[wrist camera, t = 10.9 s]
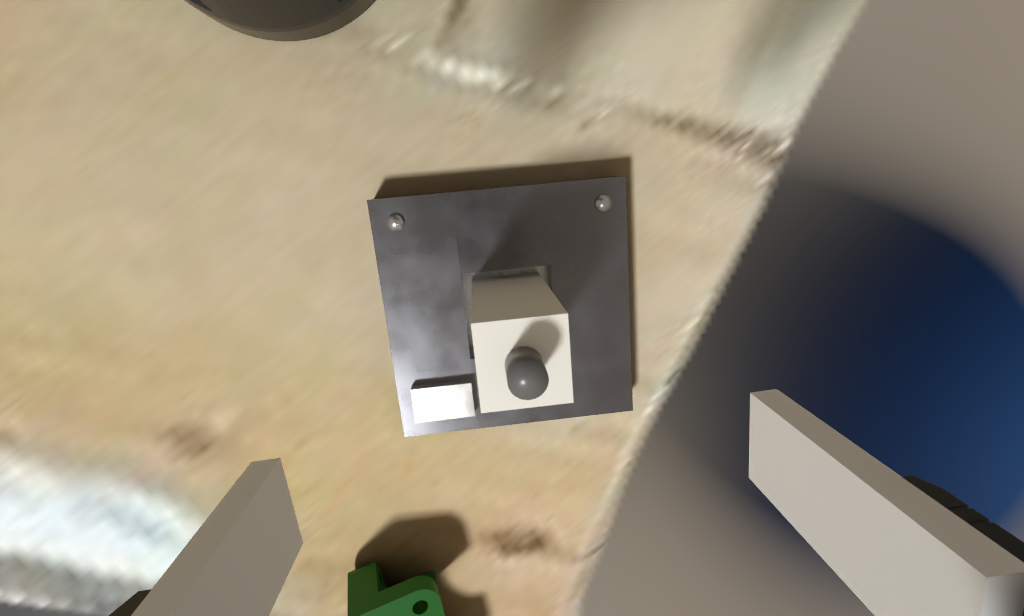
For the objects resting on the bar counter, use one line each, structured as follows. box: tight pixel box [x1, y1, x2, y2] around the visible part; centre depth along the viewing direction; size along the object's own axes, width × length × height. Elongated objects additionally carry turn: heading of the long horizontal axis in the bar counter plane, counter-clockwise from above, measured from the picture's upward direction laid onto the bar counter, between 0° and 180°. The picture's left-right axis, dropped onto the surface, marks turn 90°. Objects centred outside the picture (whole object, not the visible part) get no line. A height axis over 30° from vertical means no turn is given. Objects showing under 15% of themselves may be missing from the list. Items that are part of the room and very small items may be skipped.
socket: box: [367, 176, 633, 437], centre depth 33 cm, size 16×16×3 cm
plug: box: [471, 272, 574, 413], centre depth 27 cm, size 4×4×13 cm
